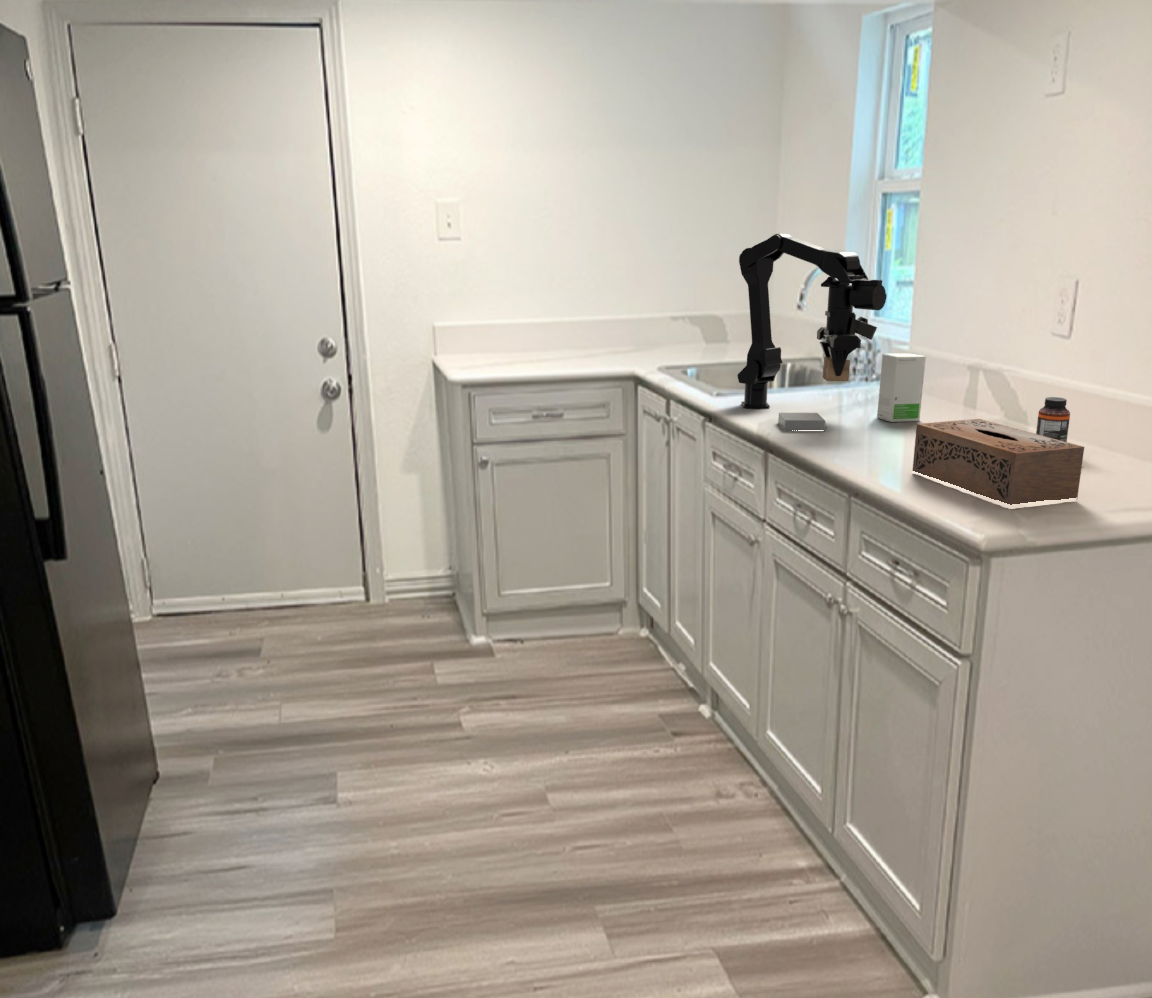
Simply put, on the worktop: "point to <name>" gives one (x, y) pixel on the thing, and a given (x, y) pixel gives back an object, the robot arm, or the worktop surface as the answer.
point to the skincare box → (901, 387)
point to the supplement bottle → (1054, 419)
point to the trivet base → (801, 421)
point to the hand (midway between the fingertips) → (835, 374)
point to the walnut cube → (830, 373)
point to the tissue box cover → (998, 460)
